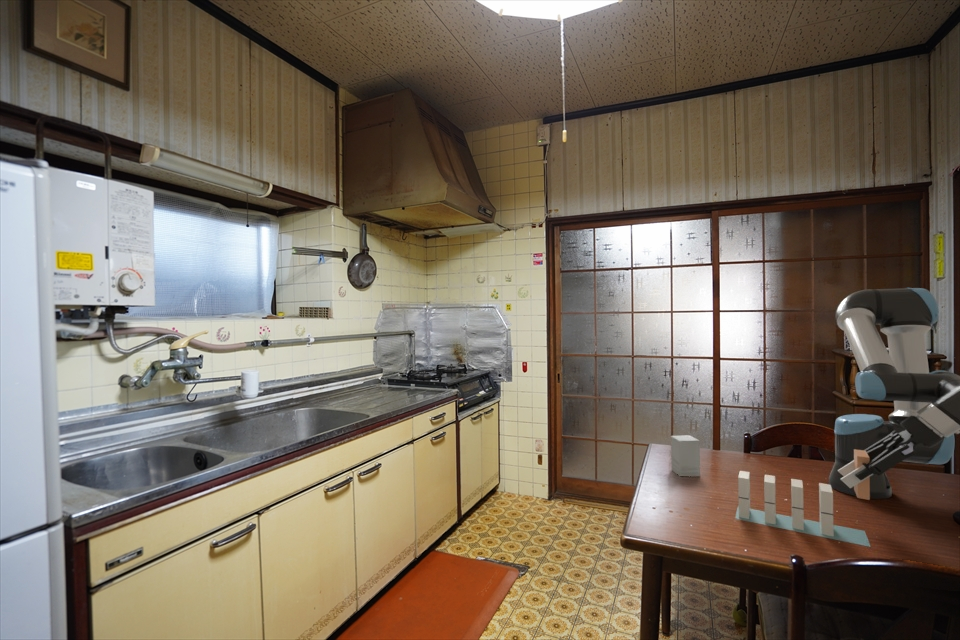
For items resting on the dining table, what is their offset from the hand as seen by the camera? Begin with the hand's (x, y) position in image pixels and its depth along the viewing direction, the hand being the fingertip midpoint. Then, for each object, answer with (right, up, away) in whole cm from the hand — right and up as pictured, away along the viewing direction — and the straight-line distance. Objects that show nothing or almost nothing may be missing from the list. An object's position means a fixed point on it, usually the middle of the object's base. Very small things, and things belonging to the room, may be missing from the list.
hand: (843, 478), depth 118 cm
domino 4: (-9, -11, -5) cm, 15 cm away
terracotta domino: (+3, -3, -2) cm, 5 cm away
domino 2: (-19, -12, +2) cm, 22 cm away
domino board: (-14, -12, -2) cm, 18 cm away
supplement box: (-24, -12, +39) cm, 48 cm away
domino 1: (-24, -12, +5) cm, 27 cm away
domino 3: (-14, -11, -2) cm, 18 cm away
